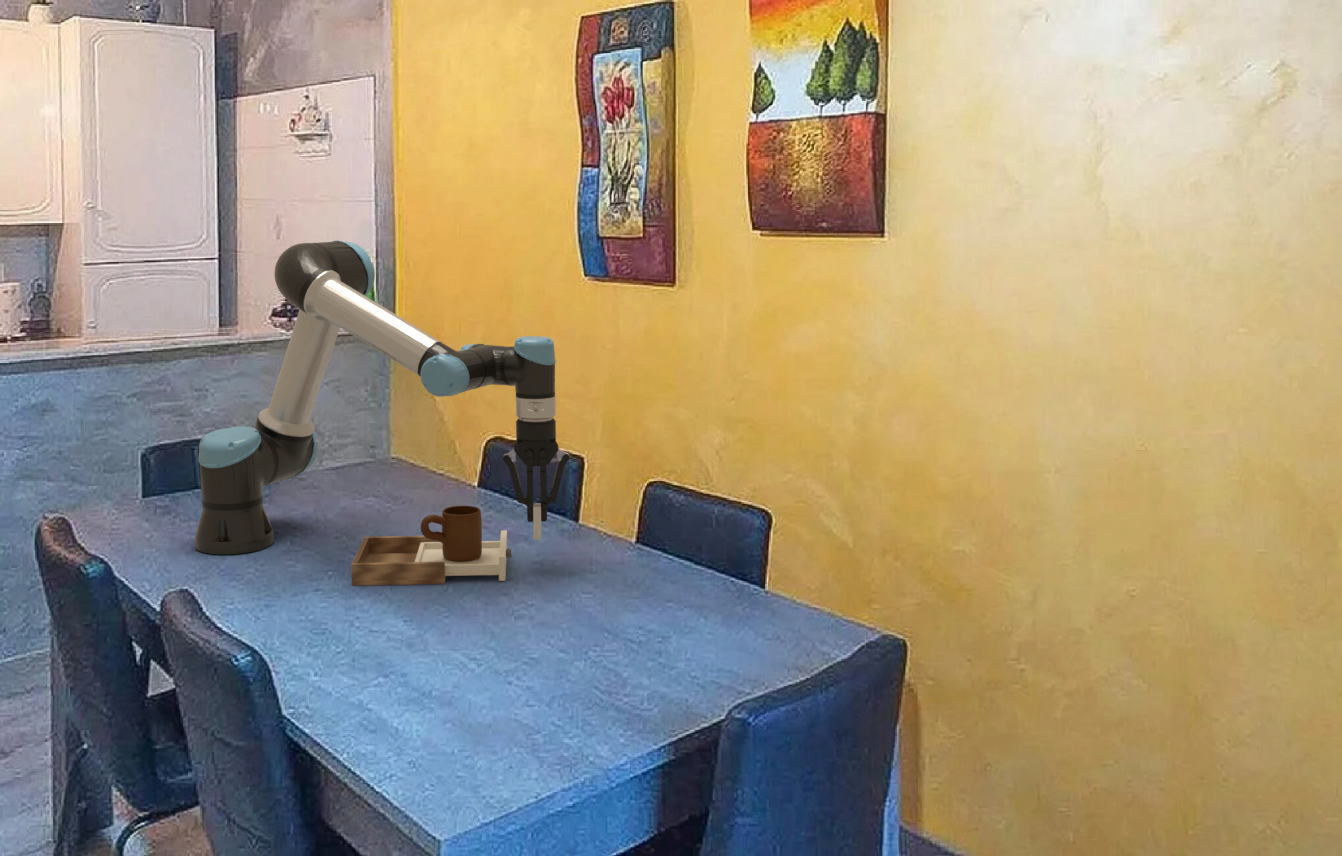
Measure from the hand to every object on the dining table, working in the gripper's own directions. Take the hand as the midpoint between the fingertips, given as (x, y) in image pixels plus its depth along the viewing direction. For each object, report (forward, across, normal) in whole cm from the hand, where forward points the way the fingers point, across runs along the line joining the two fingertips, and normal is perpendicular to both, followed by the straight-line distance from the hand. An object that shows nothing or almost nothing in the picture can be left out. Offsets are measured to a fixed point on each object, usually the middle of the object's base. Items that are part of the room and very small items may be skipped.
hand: (537, 537), depth 233 cm
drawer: (+6, -14, 0) cm, 15 cm away
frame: (+6, -25, 0) cm, 26 cm away
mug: (+4, -17, +1) cm, 17 cm away
